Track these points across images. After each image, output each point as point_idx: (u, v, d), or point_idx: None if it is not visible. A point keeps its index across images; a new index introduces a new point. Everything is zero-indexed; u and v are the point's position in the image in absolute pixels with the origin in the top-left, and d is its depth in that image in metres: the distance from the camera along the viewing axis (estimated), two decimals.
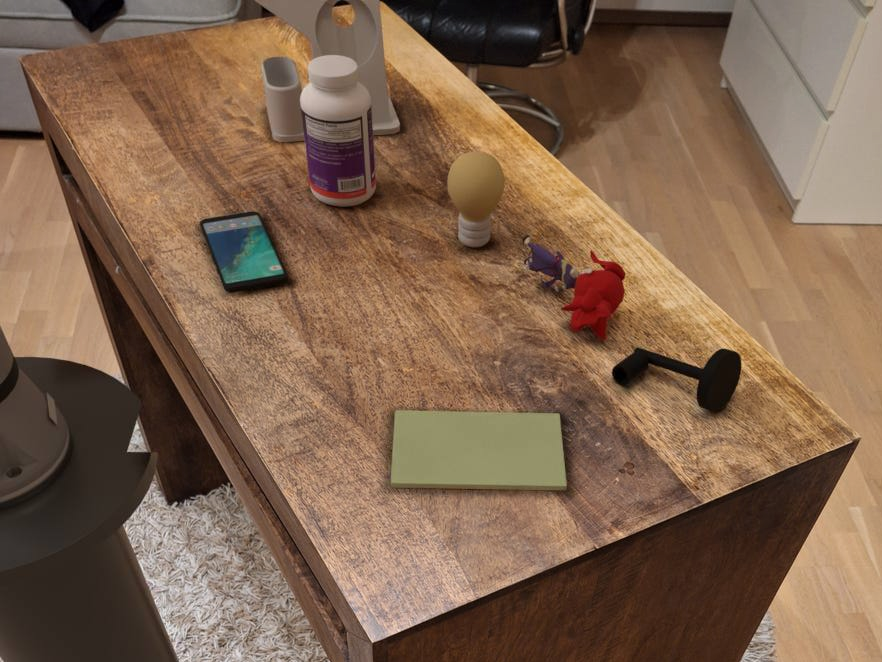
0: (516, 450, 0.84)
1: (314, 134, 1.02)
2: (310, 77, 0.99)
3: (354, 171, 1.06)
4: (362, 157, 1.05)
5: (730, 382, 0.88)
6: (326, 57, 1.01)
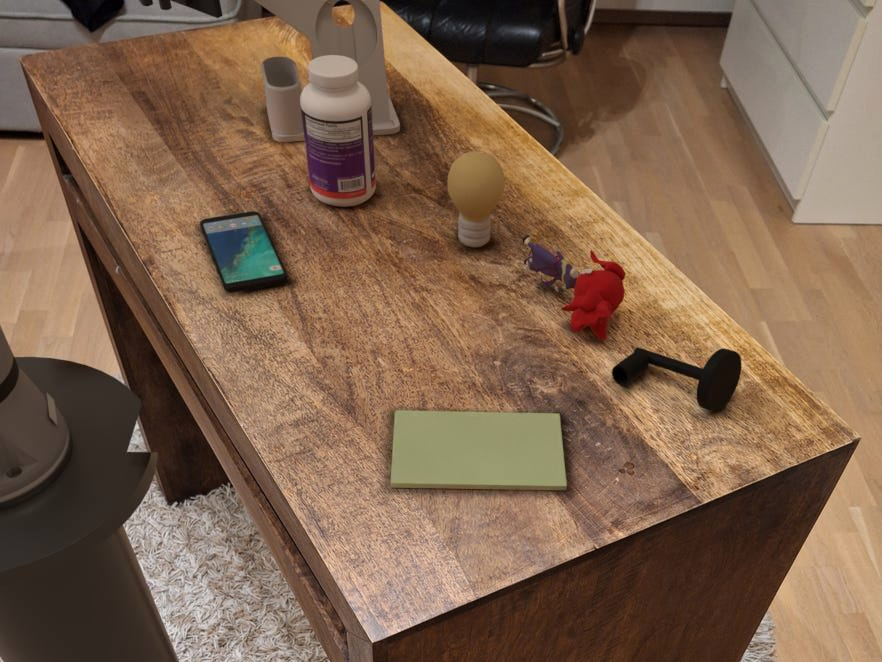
0: (516, 450, 0.84)
1: (314, 134, 1.02)
2: (310, 77, 0.99)
3: (355, 171, 1.06)
4: (362, 157, 1.05)
5: (730, 382, 0.88)
6: (326, 57, 1.01)
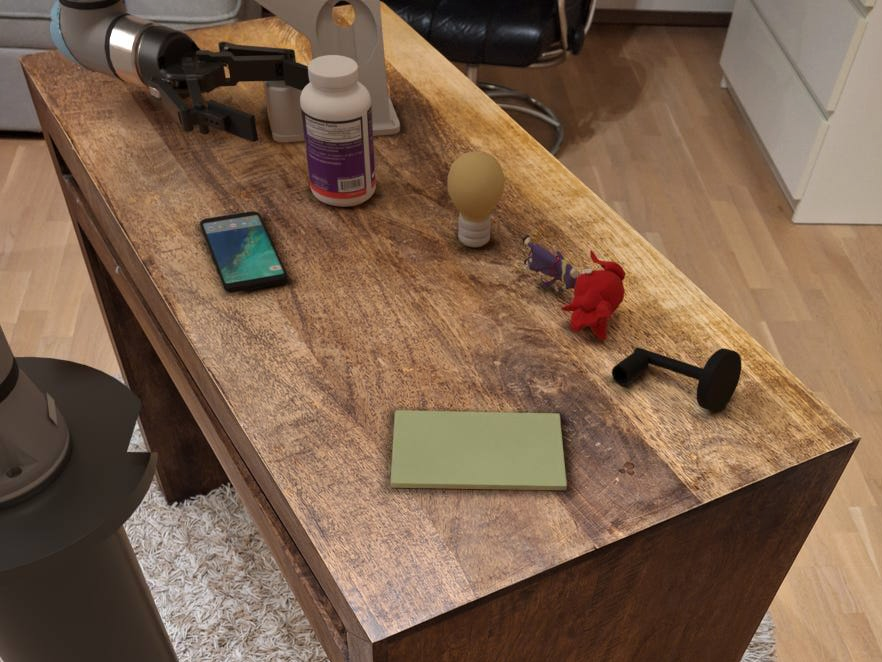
0: (516, 450, 0.84)
1: (314, 134, 1.02)
2: (310, 77, 0.99)
3: (355, 171, 1.06)
4: (362, 157, 1.05)
5: (730, 382, 0.88)
6: (326, 57, 1.01)
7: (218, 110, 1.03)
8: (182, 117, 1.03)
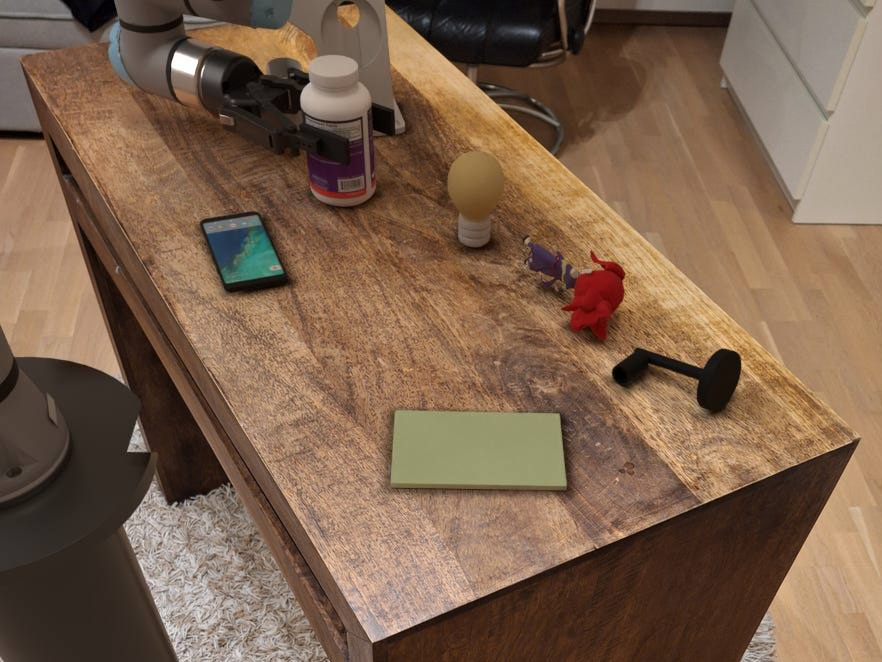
0: (516, 450, 0.84)
1: None
2: (310, 77, 0.99)
3: (355, 171, 1.06)
4: (362, 157, 1.05)
5: (730, 382, 0.88)
6: (326, 57, 1.01)
7: (311, 133, 1.02)
8: (276, 140, 1.01)
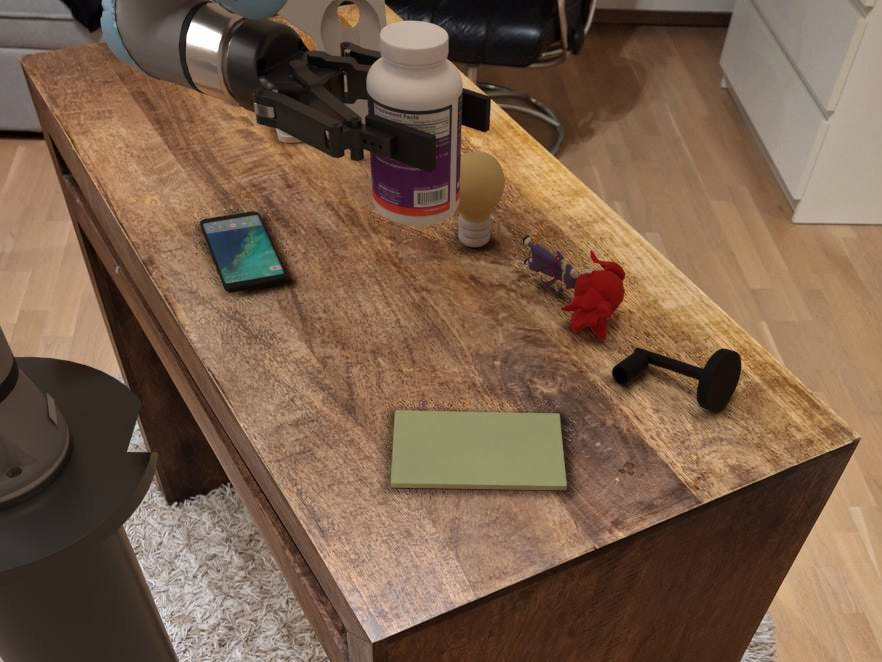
0: (516, 450, 0.84)
1: None
2: (383, 50, 0.72)
3: (437, 180, 0.78)
4: (448, 160, 0.78)
5: (730, 382, 0.88)
6: (404, 23, 0.73)
7: (381, 128, 0.74)
8: (334, 138, 0.74)
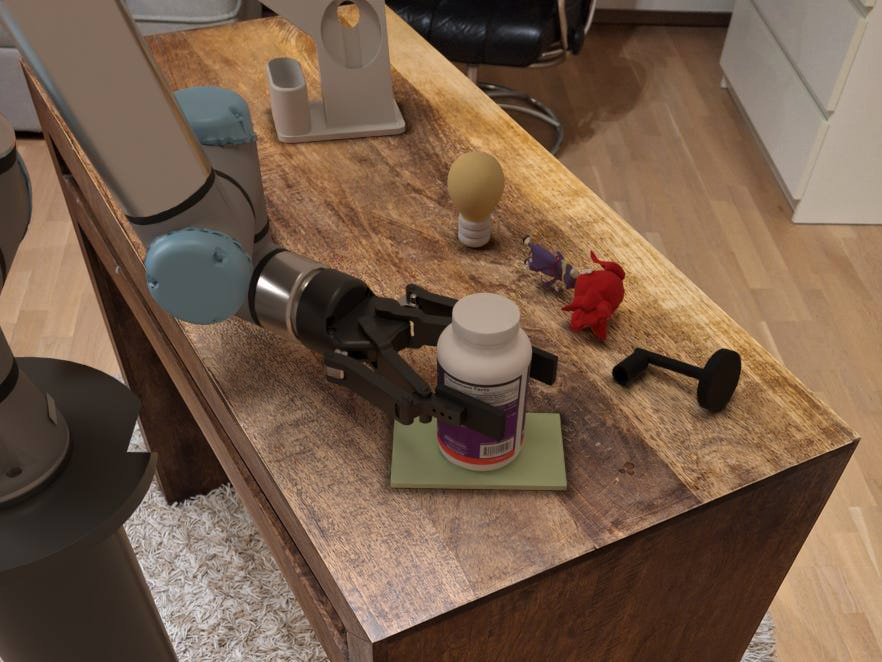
0: None
1: None
2: (456, 329, 0.72)
3: None
4: (516, 417, 0.78)
5: (730, 382, 0.88)
6: (475, 297, 0.74)
7: (451, 399, 0.75)
8: (404, 410, 0.75)
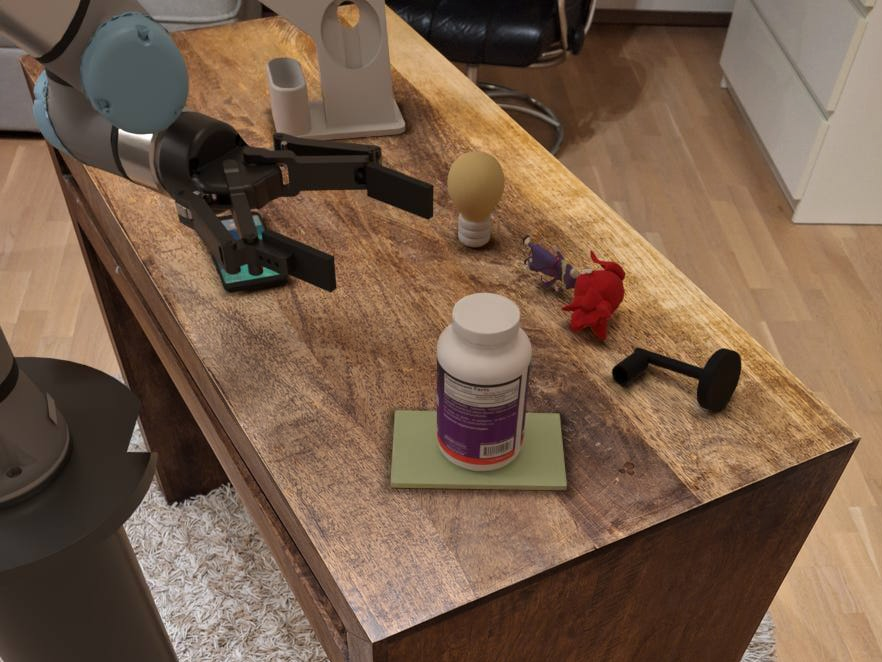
0: None
1: (455, 396, 0.75)
2: (456, 329, 0.72)
3: (504, 435, 0.79)
4: (515, 418, 0.78)
5: (730, 382, 0.88)
6: (475, 297, 0.74)
7: (278, 245, 0.70)
8: (225, 255, 0.70)
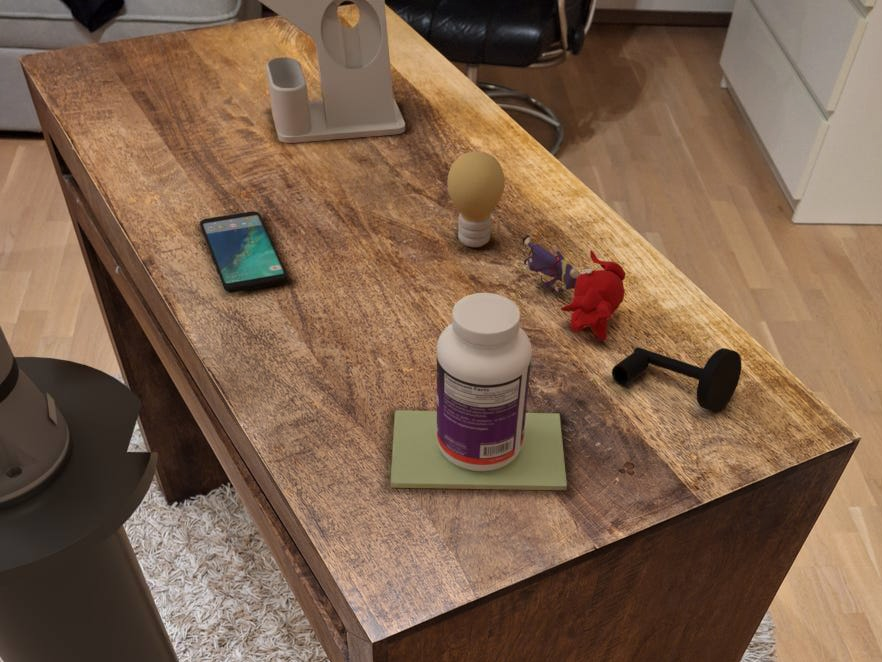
0: None
1: (455, 396, 0.75)
2: (456, 329, 0.72)
3: (504, 435, 0.79)
4: (515, 418, 0.78)
5: (730, 382, 0.88)
6: (475, 297, 0.74)
7: None
8: None
